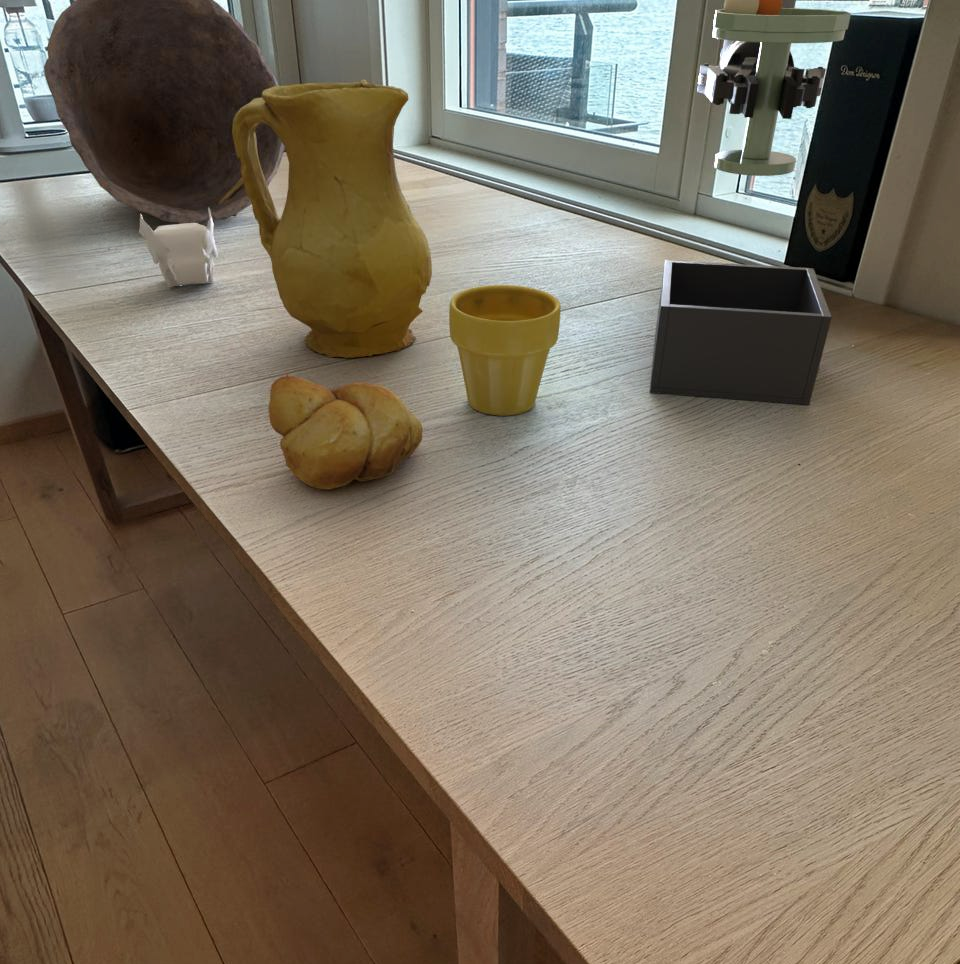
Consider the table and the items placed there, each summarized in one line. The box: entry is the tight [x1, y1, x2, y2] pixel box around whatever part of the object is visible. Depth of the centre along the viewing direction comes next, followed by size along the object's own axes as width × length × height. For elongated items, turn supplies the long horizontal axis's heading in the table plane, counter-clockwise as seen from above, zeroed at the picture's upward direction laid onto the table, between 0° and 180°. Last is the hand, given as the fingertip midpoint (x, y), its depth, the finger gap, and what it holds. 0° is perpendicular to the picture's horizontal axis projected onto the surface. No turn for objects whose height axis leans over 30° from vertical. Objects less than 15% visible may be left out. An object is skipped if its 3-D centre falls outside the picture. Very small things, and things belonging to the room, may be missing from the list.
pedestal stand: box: [712, 7, 852, 177], centre depth 84 cm, size 12×12×13 cm
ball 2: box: [756, 0, 783, 15], centre depth 83 cm, size 3×3×3 cm
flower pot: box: [448, 284, 562, 417], centre depth 82 cm, size 10×10×10 cm
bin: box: [649, 259, 833, 406], centre depth 89 cm, size 16×16×9 cm
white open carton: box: [138, 207, 219, 288], centre depth 111 cm, size 10×12×9 cm
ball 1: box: [723, 0, 759, 15], centre depth 81 cm, size 3×3×3 cm
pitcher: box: [232, 79, 433, 359], centre depth 91 cm, size 17×19×25 cm
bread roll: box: [267, 374, 423, 490], centre depth 71 cm, size 13×10×8 cm
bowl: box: [43, 0, 285, 224], centre depth 142 cm, size 34×35×30 cm
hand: (770, 101), depth 80 cm, fingers closed on pedestal stand, 3 cm apart
